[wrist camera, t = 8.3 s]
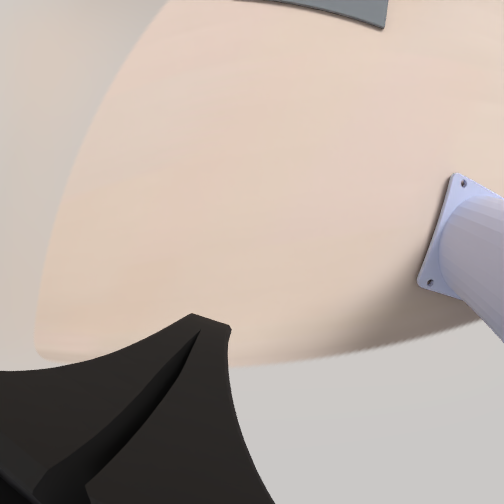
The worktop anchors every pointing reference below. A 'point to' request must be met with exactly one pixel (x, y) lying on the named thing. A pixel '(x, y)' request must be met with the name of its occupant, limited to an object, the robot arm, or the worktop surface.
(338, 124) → the worktop surface
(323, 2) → the mat
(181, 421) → the robot arm
